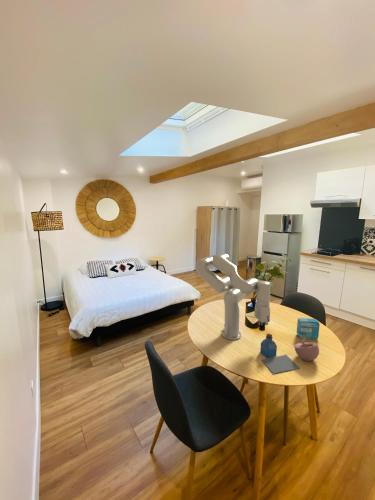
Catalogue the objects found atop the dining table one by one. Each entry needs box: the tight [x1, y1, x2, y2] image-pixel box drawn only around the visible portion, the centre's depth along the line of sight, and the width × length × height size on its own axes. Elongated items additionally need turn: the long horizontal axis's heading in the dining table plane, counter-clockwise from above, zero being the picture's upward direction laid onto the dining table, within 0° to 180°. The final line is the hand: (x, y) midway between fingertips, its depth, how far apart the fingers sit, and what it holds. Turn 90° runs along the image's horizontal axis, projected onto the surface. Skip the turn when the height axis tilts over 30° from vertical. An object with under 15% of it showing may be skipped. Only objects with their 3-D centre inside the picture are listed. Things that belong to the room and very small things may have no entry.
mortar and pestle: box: [294, 338, 320, 362], centre depth 125 cm, size 12×12×11 cm
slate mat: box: [260, 354, 301, 375], centre depth 122 cm, size 11×16×1 cm
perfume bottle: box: [259, 333, 278, 359], centre depth 130 cm, size 6×6×12 cm
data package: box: [296, 317, 321, 340], centre depth 147 cm, size 12×4×12 cm, turn 81°
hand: (261, 330), depth 136 cm, fingers closed
